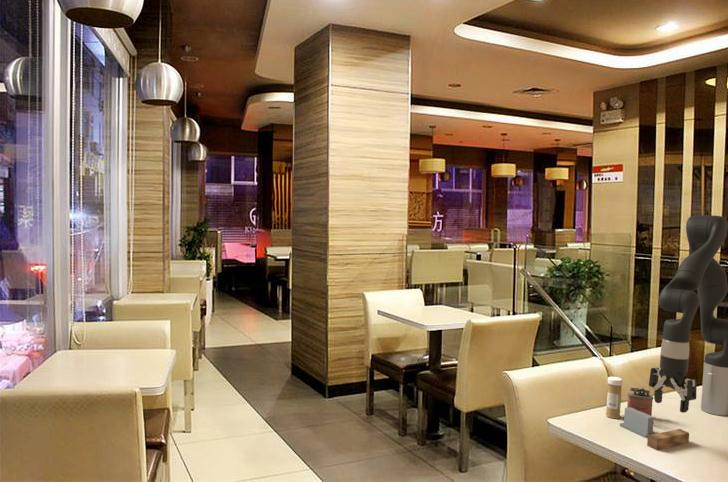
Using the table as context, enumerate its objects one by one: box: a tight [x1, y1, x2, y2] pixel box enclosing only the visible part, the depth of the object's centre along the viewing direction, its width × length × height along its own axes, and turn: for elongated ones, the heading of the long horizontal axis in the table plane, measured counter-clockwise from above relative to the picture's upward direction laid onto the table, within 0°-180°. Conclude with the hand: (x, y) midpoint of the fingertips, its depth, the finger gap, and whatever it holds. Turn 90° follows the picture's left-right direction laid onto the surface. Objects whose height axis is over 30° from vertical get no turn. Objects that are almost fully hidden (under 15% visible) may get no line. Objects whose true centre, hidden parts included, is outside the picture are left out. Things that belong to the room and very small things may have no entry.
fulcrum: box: [619, 407, 658, 439], centre depth 186 cm, size 5×10×6 cm, turn 24°
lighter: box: [626, 386, 654, 417], centre depth 199 cm, size 8×3×10 cm, turn 71°
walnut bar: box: [646, 428, 690, 451], centre depth 176 cm, size 14×3×4 cm, turn 114°
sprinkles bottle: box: [605, 376, 623, 420], centre depth 197 cm, size 5×5×14 cm
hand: (670, 407), depth 175 cm, fingers open, 8 cm apart
